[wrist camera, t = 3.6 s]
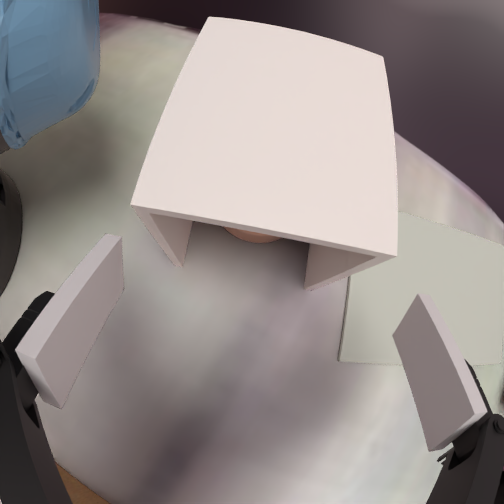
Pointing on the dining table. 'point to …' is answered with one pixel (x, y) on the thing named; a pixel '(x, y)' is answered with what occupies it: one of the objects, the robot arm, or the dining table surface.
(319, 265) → the cover
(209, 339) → the dining table surface
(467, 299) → the mat
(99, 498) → the sandwich container
